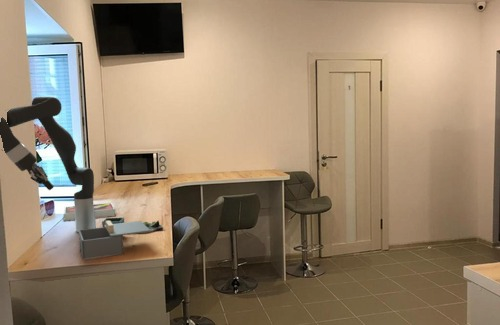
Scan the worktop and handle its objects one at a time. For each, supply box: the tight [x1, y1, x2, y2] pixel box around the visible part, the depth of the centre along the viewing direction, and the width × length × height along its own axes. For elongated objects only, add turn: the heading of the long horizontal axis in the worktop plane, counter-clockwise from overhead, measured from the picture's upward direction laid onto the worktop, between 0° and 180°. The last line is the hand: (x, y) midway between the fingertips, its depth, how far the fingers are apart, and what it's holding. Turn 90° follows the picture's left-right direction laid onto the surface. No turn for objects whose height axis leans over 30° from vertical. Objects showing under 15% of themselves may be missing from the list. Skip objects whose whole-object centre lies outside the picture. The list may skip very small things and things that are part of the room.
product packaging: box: [63, 202, 116, 222], centre depth 255 cm, size 22×28×5 cm
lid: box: [104, 220, 151, 237], centre depth 185 cm, size 17×21×4 cm
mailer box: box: [78, 226, 124, 261], centre depth 180 cm, size 16×20×8 cm
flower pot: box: [101, 217, 125, 227], centre depth 201 cm, size 9×9×9 cm
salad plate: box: [141, 220, 164, 234], centre depth 215 cm, size 19×18×5 cm
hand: (51, 188), depth 173 cm, fingers closed
